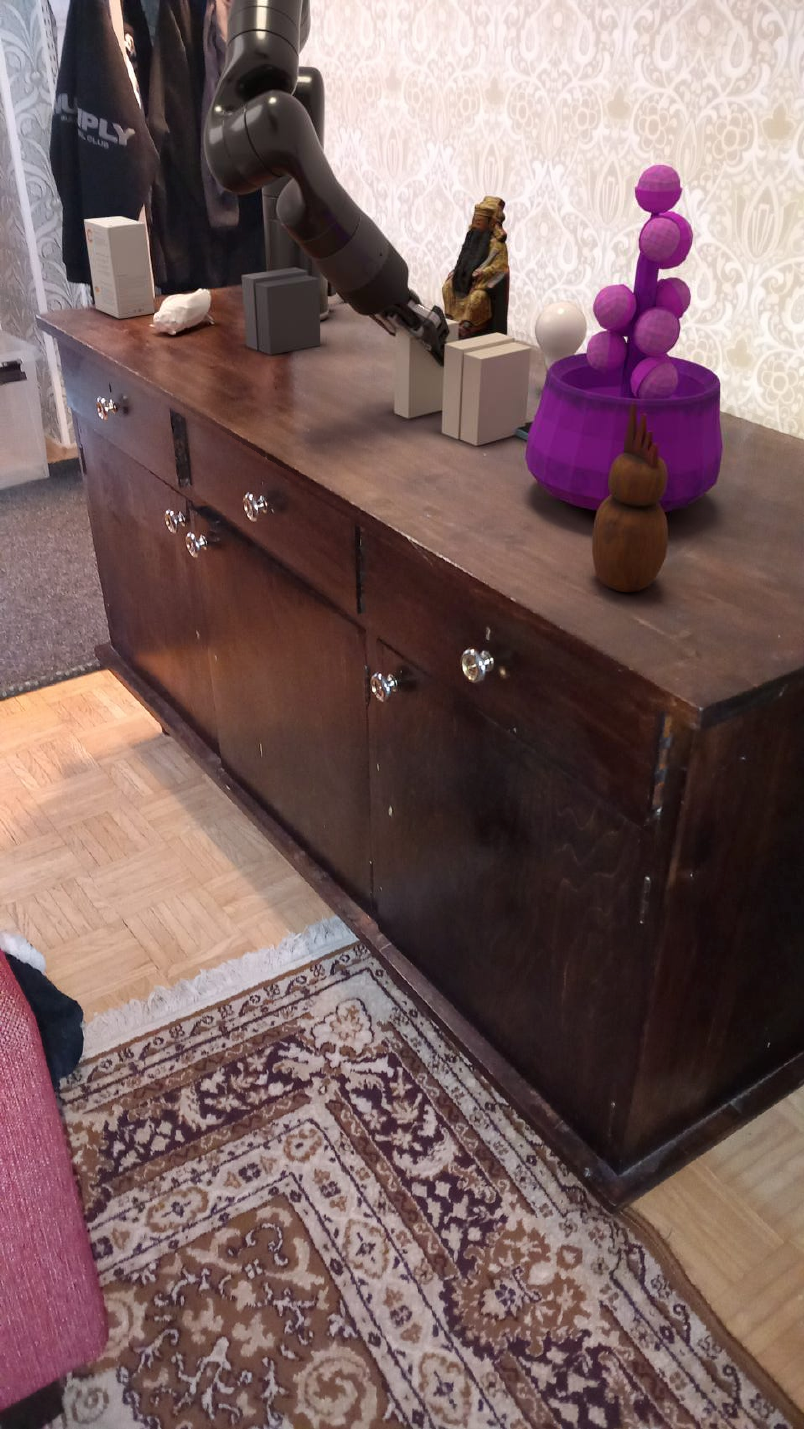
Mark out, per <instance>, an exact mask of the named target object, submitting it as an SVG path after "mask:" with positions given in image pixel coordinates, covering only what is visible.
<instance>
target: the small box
mask: <svg viewBox="0 0 804 1429" xmlns="http://www.w3.org/2000/svg"><path fill="white" fill-rule="evenodd" d="M83 224H84V229H85V230H84V232H85V237H86V238H85V239H86V246H87V253H88V262H89V267H90V268H89V269H90V275H91V282H92V289H93V296H94V305H95V309H96V310H98V311H99V312H103V313H105V314H108V315H110V316H112V317H114V318H116V319H119V320H120V319H128V318H133V317H139V316H145V315H151V314H155V313H156V310H155V309H156V308H155V299H154V291H153V283H152V273H151V265H150V256H149V248H148V238H147V230H146V223H145V222H142V221H138V220H136V219H135V220H134V219H131V218H129V217H125V216H121V215H119V216H117V215H116V216H109V217H107V216H105V217H97V218H85V219H83Z"/></svg>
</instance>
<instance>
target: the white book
mask: <svg viewBox="0 0 804 1429" xmlns="http://www.w3.org/2000/svg"><path fill="white" fill-rule="evenodd" d="M445 319H446V318H445ZM446 322H447V325H448V327H449V330H450V333H449V335H448V337H447V338H446V340H445V341H446V342H447V343H451V342H456V341H458V328H459V322H456V321H453V320H449V319H446ZM413 328H414V327H413ZM423 336H424V337H425V338H427V337H426V334H425V332H424V333H423ZM394 340H395V343H394V347H395V348H394V350H395V351H394V352H395V353H394V414H395V415H398V416H401V417H403V418H406V419H413V418H417V417H420V416H425V415H428V414H432V413H437V412H440V411H442V410H443V383H444V367H442V366H440V365H439V364H438V362H437V361H436V360H435V359H434V358H433V356H432V355H431V354H430V353H429V352H428V351H427V350H426V349H425V348H424V347H423V346H422V344H421V343H420V342H419V341H418V340H414V339H411V338H409V337H408V336H407V335H406V334H405V333H404V332H403V331H402V330H401V329H400V328H399V327H397V328H396V336H395V338H394Z"/></svg>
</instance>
